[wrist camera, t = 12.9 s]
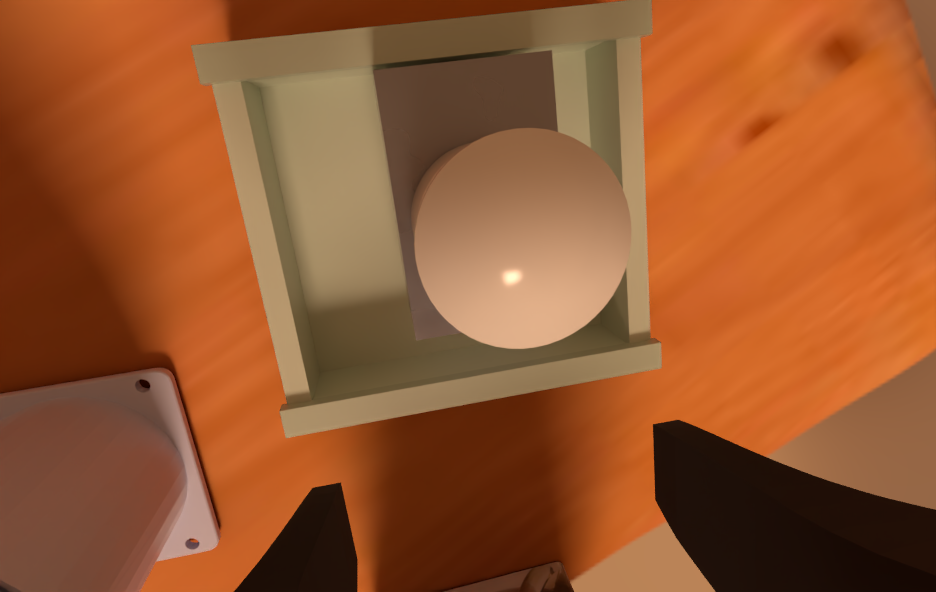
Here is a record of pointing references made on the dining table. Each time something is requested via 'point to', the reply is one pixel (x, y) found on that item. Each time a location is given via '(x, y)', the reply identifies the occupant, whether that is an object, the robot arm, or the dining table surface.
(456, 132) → the tea tin
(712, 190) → the dining table surface
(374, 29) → the tote
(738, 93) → the dining table surface
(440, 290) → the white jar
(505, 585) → the coffee box
